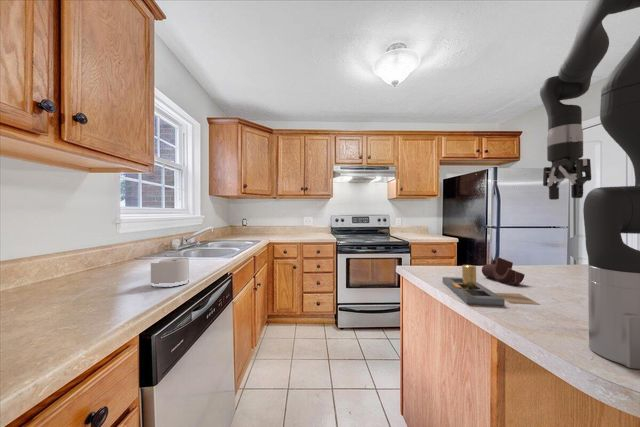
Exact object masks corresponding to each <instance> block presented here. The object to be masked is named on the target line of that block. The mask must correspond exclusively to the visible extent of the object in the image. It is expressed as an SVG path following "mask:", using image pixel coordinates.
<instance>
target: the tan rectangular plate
mask: <svg viewBox="0 0 640 427" xmlns="http://www.w3.org/2000/svg"><path fill="white" fill-rule="evenodd" d="M494 293H495V294H497V295H498V296H500V297H501V298H503V299H505V301H506V302H507V303H509V304H514V305H536V306H541V303H539V302H536V301H534V300H533V299H531V298H530V297H527V296H525V295H523V294H521V293H514V292H513V293H510V292H509V293H508V292H494Z"/></svg>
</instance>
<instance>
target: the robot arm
mask: <svg viewBox="0 0 640 427" xmlns="http://www.w3.org/2000/svg"><path fill="white" fill-rule="evenodd" d="M637 8H640V0H587V2H586V4H585V7H584V10H583V11H582V12H583V13H582V16H581V18H580V21H579V24H578V26H577V30H576V33H575V36H574V40H573V42H572V44H571V47H570V48H569V50H568V52H567V54H566V56H565V57H564V59H563V61H562V63H561V64H560V66H559V69H558V71H557V74H558V75H554V76H551V77H547V78H546V79H545V80H544V81H543V83H542V84H541V85H540V89H539V96H540V100H541V102H542V104H543V106H544V108H545V111H546V114H547V115H546V116H547V128H548V129H547V136H546V137H547V138H546V145H547V146H546V149H547V150H546V153H547V155H546V156H547V157H546V158H547V161H548V162H551V166H547V167H546V166H545V167H543V171H542V172H543V175H542V176H543V180H542V186H543V187H547V188H548V199H549V200H551V201H552V200H553V201H554V200H559V199H560V187H559V186H560V185H561V182H563V181H565V180H566V179H568V180H569V181H570V183H571V186H570V189H571V197H570V198H572V199H582V198H583V196H584V184H586V182H588V181H589V182H590V181H591V180H592V167H591V159H590V158H584V130H583V124H582V121H583V119H582V117H583V116H582V114H583V110H582V107H581V106H580V105H578V104H565V103H563V102H561V101H566V100H572V99H576V98H580V97H581V96H584V95H585V94H586V93H588V91H589V90H590V87H591V80H592V78H593V77H592V76H593V73H594V71H595V70H596V69H597V67H598V65H599V64H600V63H601V62H602V60H603V59H604V57H605V56H606V54H607V53H608V51H609V50H608V49H609V47H610V37H609V35H608V32H607V31H606V29H605V27H604V25H603V21H604V19H605V18H606V17H608V16H609V15H615V14H619V13H622V12H626V11H630V10H634V9H637ZM600 92H601V93H600V107H599V108H600V109H599V112H600V113H599V120H600V123H601V126H602V127H603V129H604V130H605V132H607V134H608V135H609V136H610V137H611V139H613V141H614V142H615V143H616V144H618V146H619V147H620V148H621V149H622V150H623V151H624V152H625V154H626V155H627V157H628V158H629V160H630V162H631V163H632V167H633V172H634V179H635V180H634V182H635V183H634V185H625V186H623V185H620V186H603V187H596V188H593V189H590V191H589V192H588V193H587V194H586V196H585V198H584V202H583V208H582V209H583V211H582V213H583V226H584V234H585V238H584V239H585V250H586V254H587V260H588V262H587V264H588V266H587V267H588V268H587V269H588V270H587V271H588V272H587V273H588V274H587V275H588V276H587V277H588V278H587V283H588V284H587V286H588V287H587V288H588V291H587V292H588V293H587V295H588V301H587V302H588V303H587V304H588V308H587V309H588V347H589V349H590V350H591V351H592V352H593V353H595V354H597V355H599V356H600V357H603V358H605V359H607V360H610V361H613V362H615V363H618V364H621V365H624V366H625V367H626V368H629V369H635V370H636V369H637V370H640V250H638V249H635V248H633V247H631V246H629V245H627V244H626V243H625V242H624V241H623V238H622V234H633V235H634V234H636V235H637V234H638V235H639V234H640V35H639V36H638V38H637V39H636V41H635V42H634V43H633V45H632V47H630V49H629V50H628V51H627V52H626V54H625V55H624V56H623V57H622V59H621V60H619V62H618V63H617V65H616V66H615V67H614V69H613V70H612V71H611V72H610V74H609V75H608V77H607V78H606V79H605V81H604V83H603V85H602V88H601V91H600ZM584 174H585V175H584Z"/></svg>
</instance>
